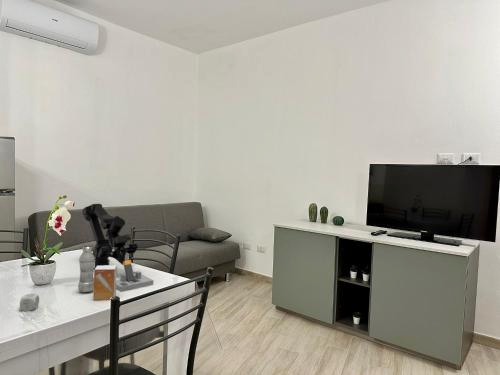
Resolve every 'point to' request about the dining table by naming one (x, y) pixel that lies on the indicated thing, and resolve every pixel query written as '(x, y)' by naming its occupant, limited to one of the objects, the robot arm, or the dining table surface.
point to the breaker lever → (128, 271)
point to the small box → (105, 282)
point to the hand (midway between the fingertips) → (123, 264)
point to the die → (29, 302)
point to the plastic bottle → (86, 270)
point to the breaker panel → (138, 283)
